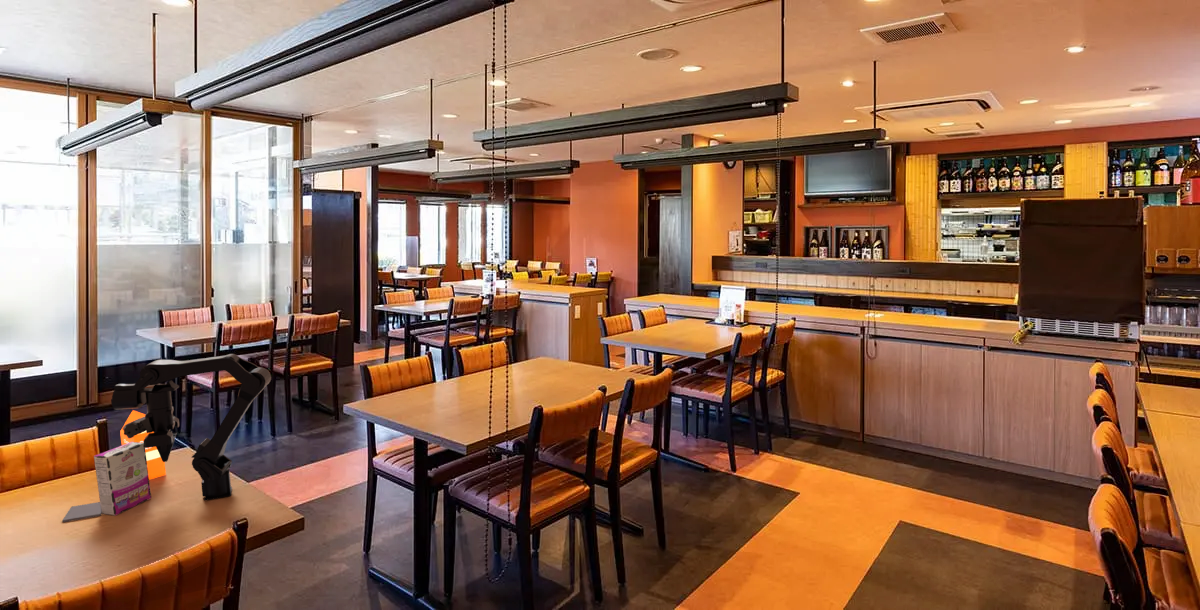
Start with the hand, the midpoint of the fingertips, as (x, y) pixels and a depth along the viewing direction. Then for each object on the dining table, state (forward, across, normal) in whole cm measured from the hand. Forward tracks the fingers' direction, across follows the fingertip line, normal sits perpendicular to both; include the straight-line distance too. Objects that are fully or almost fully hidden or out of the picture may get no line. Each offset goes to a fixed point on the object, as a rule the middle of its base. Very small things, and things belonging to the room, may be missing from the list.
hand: (165, 461), depth 183 cm
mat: (+11, -1, -19) cm, 22 cm away
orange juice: (+11, -23, -8) cm, 27 cm away
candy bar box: (+11, 0, -10) cm, 15 cm away
